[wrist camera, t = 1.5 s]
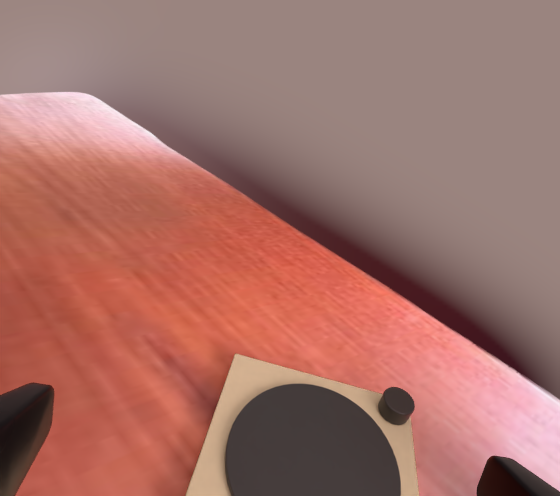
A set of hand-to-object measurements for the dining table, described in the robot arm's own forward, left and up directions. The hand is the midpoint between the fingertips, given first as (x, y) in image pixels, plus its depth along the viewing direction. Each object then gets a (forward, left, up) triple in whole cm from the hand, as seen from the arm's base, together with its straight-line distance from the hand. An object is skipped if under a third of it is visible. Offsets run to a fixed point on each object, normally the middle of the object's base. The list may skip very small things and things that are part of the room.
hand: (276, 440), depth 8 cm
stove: (+5, -7, -15) cm, 18 cm away
